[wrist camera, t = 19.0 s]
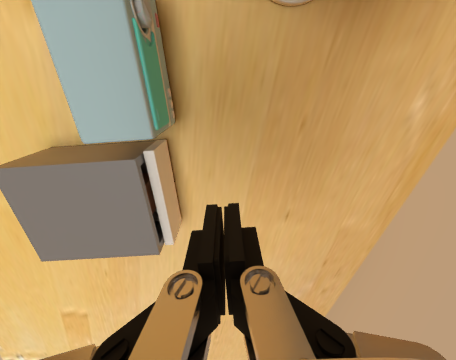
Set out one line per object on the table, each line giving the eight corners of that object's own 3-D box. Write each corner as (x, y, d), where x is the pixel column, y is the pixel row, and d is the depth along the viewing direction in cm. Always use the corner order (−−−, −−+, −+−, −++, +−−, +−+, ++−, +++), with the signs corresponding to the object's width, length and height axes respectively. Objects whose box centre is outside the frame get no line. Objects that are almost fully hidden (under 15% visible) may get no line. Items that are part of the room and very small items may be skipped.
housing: (158, 139, 34) (134, 159, 25) (174, 216, 41) (159, 254, 31) (51, 147, 35) (-11, 169, 26) (82, 222, 41) (41, 261, 32)
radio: (184, 121, 33) (133, 165, 15) (128, 125, 34) (12, 173, 15) (165, -5, 27) (37, -194, 9) (96, 1, 27) (-172, -173, 9)
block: (155, 172, 35) (145, 185, 30) (161, 199, 37) (152, 214, 32) (125, 174, 35) (110, 187, 30) (133, 200, 37) (120, 216, 32)
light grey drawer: (166, 139, 33) (153, 150, 27) (181, 221, 40) (173, 244, 34) (60, 146, 34) (25, 159, 28) (92, 226, 40) (69, 250, 34)
